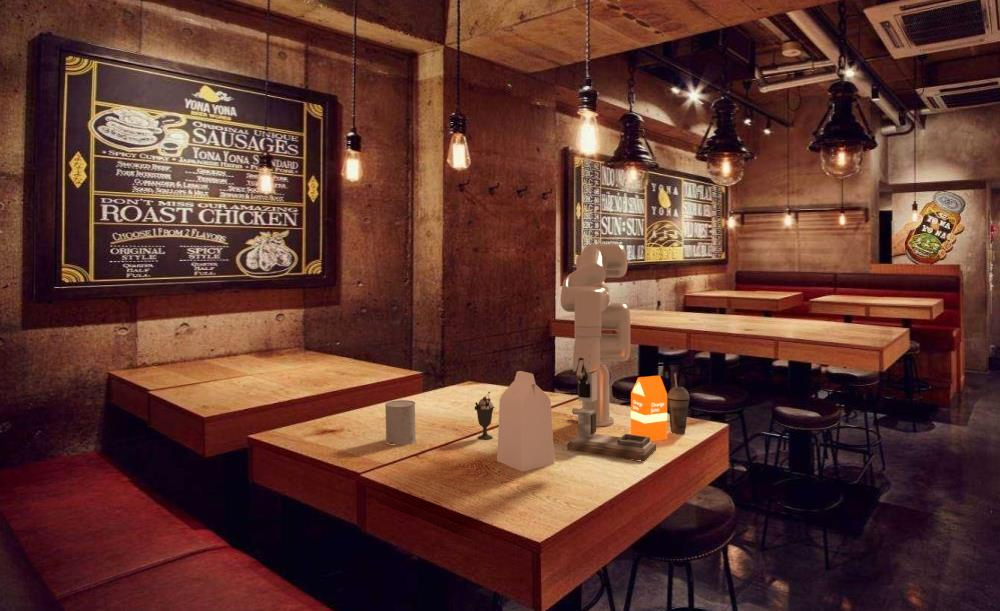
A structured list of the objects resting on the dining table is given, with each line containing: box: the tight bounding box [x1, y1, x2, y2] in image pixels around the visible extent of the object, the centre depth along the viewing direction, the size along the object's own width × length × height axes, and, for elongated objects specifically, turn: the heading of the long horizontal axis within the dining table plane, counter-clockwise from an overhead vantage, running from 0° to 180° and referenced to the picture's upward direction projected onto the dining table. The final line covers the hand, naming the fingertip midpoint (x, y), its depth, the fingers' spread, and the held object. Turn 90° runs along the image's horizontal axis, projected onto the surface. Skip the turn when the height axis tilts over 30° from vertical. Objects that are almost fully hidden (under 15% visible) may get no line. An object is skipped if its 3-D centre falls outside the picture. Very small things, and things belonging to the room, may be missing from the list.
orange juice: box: [630, 375, 668, 442], centre depth 205 cm, size 8×9×20 cm
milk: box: [496, 370, 555, 473], centre depth 181 cm, size 12×12×26 cm
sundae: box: [474, 391, 496, 441], centre depth 207 cm, size 7×7×15 cm
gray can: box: [384, 399, 417, 446], centre depth 204 cm, size 10×10×12 cm
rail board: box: [566, 409, 657, 462], centre depth 192 cm, size 24×12×11 cm, turn 61°
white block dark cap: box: [577, 371, 597, 402], centre depth 182 cm, size 4×4×8 cm
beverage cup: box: [667, 372, 690, 435], centre depth 211 cm, size 7×7×20 cm
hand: (587, 395), depth 182 cm, fingers closed on white block dark cap, 4 cm apart
